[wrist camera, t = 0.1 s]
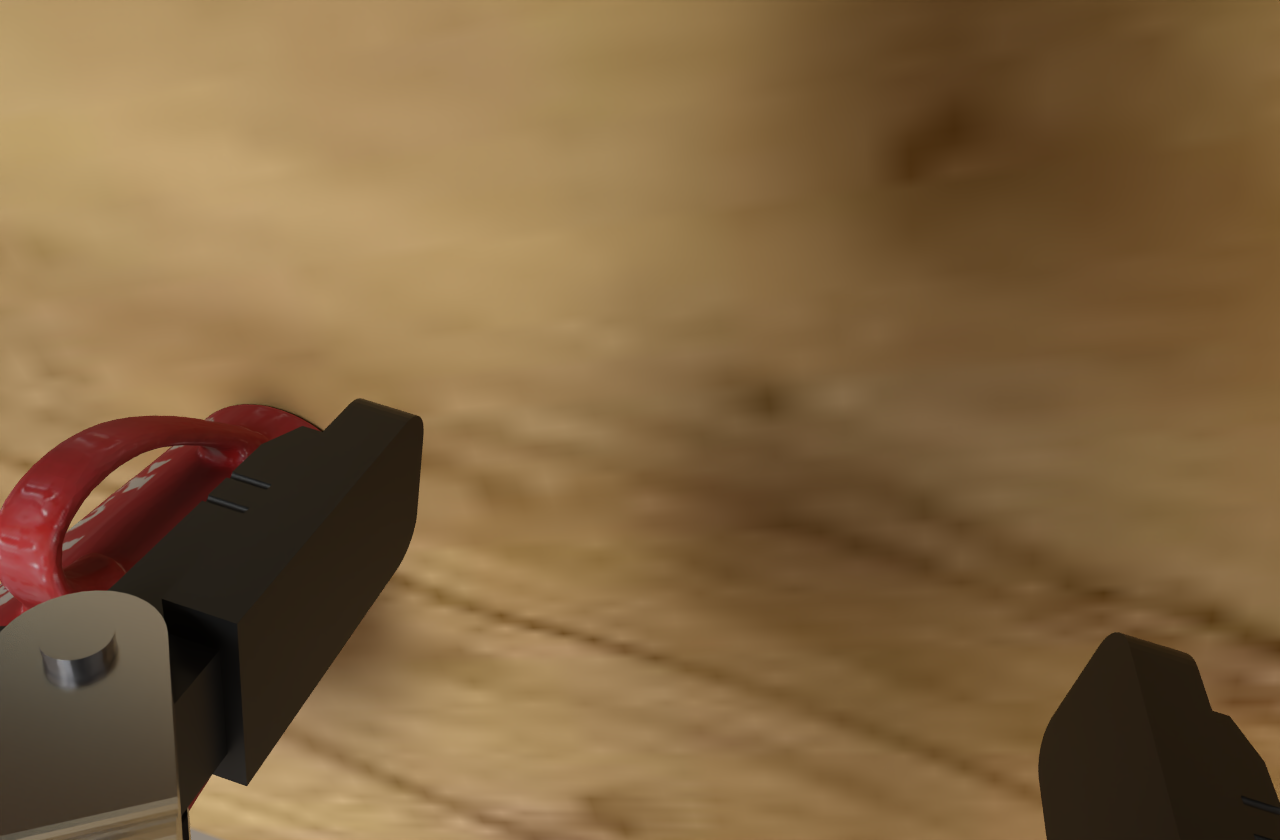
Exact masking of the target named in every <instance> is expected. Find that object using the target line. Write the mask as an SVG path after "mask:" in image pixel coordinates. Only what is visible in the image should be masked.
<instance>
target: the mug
mask: <svg viewBox="0 0 1280 840" xmlns="http://www.w3.org/2000/svg"><path fill="white" fill-rule="evenodd" d="M301 426H305V427H308V428H311V429H315V430H318V431H320V430H319V429H317V428H316V427H315V426H313V425H312V424H310V423H308V422H306V421H305V420H303V419H301V418H299V417H297V416H295V415H293V414H290V413H288V412H285V411H283V410H279V409H276V408H272V407H269V406H263V405H249V404H243V405H235V406H230V407H227V408H224V409H221V410H219V411H216V412H215V413H213V414H211V415H210V416H209V417H208V418H206V419H205V420H201V419H195V418H187V417H177V416H139V417H128V418H122V419H116V420H112V421H108V422H104V423H101V424H98V425H95V426H93V427H90V428H88V429H86V430H83V431H81V432H79V433H77V434H76V435H74V436H72V437H70V438H68V439H67V440H65V441H63V442H62V443H60V444H59V445H58V446H56V447H55V448H54V449H52V450H51V451H49V452H48V453H47V454H46V455H45V456H43V457H42V458H41V459H40V460H39V461H38V462H37V463H36V464H34V465H33V466H32V467H31V469H30V470H29V471H28V472H27V473H26V474H25V475H24V476H23V477H22V478H21V479H20V481H19V482H18V483H17V485H16V486H15V487H14V489H13V490H12V491H11V493H10V494H9V496H8V497H7V499H6V500H5V502H4V504H3V506H2V508H1V510H0V581H1V583H2V584H0V626H7V625H8V624H9V623H10V622H11V621H12V620H14V619H15V618H17V617H18V616H19V615H21V614H22V613H24V612H25V611H27V610H29V609H31V608H33V607H34V606H36V605H38V604H41V603H43V602H46V601H48V600H50V599H53V598H57V597H60V596H63V595H67V594H72V593H77V592H84V591H96V590H97V591H107V590H108V589H110V588H111V587H112V586H113V585H114V584H115V583H116V582H117V581H118V580H119V579H120V578H122V577H123V576H124V575H125V574H126V573H127V572H128V571H129V570H130V569H131V568H132V567H133V566H134V565H135V564H136V563H137V562H138V561H139V560H140V559H141V558H142V557H144V556H145V555H146V554H147V553H148V552H149V551H150V550H151V549H152V548H153V547H154V546H155V545H156V544H157V543H158V542H159V541H160V540H161V539H162V538H163V537H165V536H166V535H167V534H168V533H169V532H170V531H171V530H172V529H173V528H174V527H175V526H176V525H177V524H178V523H179V522H180V521H181V520H182V519H183V518H184V517H185V516H187V515H188V514H189V513H190V512H191V511H192V510H193V509H194V508H195V507H196V506H197V505H198V504H199V503H200V502H201V501H205V502H206V500H207V499H208V495H209V494H210V493H211V492H212V491H213V490H214V489H215V488H216V487H217V486H218V485H219V484H220V483H221V482H222V481H223V480H224V479H225V478H226V477H227V478H230V477H231V475H232V472H233V471H234V470H235V469H236V468H237V467H238V466H239V465H240V464H241V463H242V462H243V461H244V460H245V459H246V458H247V457H248V456H249V455H250V454H252V453H253V452H254V451H255V450H256V449H257V448H258V447H259V446H260V445H261V444H263V443H265V442H268V441H270V440H272V439H274V438H276V437H279V436H281V435H283V434H285V433H288V432H290V431H292V430H294V429H296V428H299V427H301ZM167 446H172V447H171V448H169V449H168V450H167V451H166V452H165V453H163V454H162V455H161V456H160V457H158V458H157V459H156V460H155V461H154V462H152V463H151V464H150V465H149V466H147V467H146V468H145V469H144V470H142V471H141V472H140V473H139V474H137V475H136V476H135V477H133V478H132V479H131V480H130V481H128V482H127V483H126V484H125V485H123V486H122V487H121V488H120V489H118V490H117V491H116V492H115V493H113V494H112V495H111V496H110V497H108V498H107V499H106V500H105V501H104V502H102V503H101V504H100V505H99V506H98V507H96V508H95V509H94V510H93V511H92V512H90V513H89V514H88V515H87V516H85V517H84V518H83V519H82V520H80V521H79V522H78V523H77V524H76V525H74V526H73V527H72V528H71V529H69V530H68V531H67V529H68V527H69V525H70V523H71V521H72V519H73V517H74V516H75V514H76V512H77V511H78V509H79V508H80V506H81V505H82V503H83V502H84V500H85V499H86V498H87V497H88V496H89V494H90V493H91V491H92V490H93V489H94V488H95V487H96V486H97V485H99V484H100V483H101V482H102V481H103V480H104V479H105V478H106V477H107V476H108V475H109V474H110V473H111V472H112V471H114V470H115V469H117V468H118V467H119V466H121V465H123V464H124V463H125V462H127V461H129V460H131V459H132V458H134V457H136V456H138V455H140V454H142V453H144V452H147V451H150V450H153V449H157V448H161V447H167ZM209 779H210V778H209ZM209 779H208V780H209ZM207 782H208V781H207ZM207 782H206V783H207ZM206 783H205V785H206ZM205 785H204V786H205ZM204 786H203V788H204ZM203 788H202V789H201V790H200V792H199V793H198V794H197V796H196V797H195V798H194V800H193V801H192V802H191V804H190V805H189V807H188V808H189V810H190V809H191V807H192V805H193V804H194V802H195V801H196V799H197V797H198V796H199V794H200V793H201V791H202V790H203Z"/></svg>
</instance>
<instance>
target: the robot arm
mask: <svg viewBox="0 0 1280 840" xmlns="http://www.w3.org/2000/svg"><path fill="white" fill-rule="evenodd" d="M423 431H424V428H423V421H422V419H421V417H419V416H417V415H414V414H410V413H407V412H404V411H401V410H397V409H394V408H391V407H387V406H384V405H381V404H378V403H374V402H371V401H368V400H365V399H360V398H359V399H356V400H354V401H353V402H352V403H350V404H349V405H348V406H347V407H346V408H345V409H344V411H343V412H342V413H341V414H340V415H339V416H338V417H337V418H336V419H335V420H334V421H333V422H332V423H331V424H330V425H329V426H328V427H327V428H326V429H325V430H324V431H323V432H321V431H318V430H315V429H311V428H308V427H305V426H301V427H299V428H296V429H294V430H292V431H290V432H288V433H285V434H283V435H281V436H279V437H276V438H274V439H272V440H270V441H268V442H265V443H263V444H261V445H260V446H259V447H258V448H257V449H256V450H255V451H254V452H253V453H252V454H250V455H249V456H248V457H247V458H246V459H245V460H244V461H243V462H242V463H241V464H240V465H239V466H238V467H237V468H236V469H235V470H234V471H233V472H232V475H231V477H230V478H227V477H226V478H225V479H224V480H223V481H222V482H221V483H220V484H219V485H218V486H217V487H216V488H215V489H214V490H213V491H212V492H211V493H210V494H209V495H208V499H207V500H206V502H205V501H201V502H200V503H199V504H198V505H197V506H196V507H195V508H194V509H193V510H192V511H191V512H190V513H189V514H188V515H187V516H185V517H184V518H183V519H182V520H181V521H180V522H179V523H178V524H177V525H176V526H175V527H174V528H173V529H172V530H171V531H170V532H169V533H168V534H167V535H166V536H165V537H163V538H162V539H161V540H160V541H159V542H158V543H157V544H156V545H155V546H154V547H153V548H152V549H151V550H150V551H149V552H148V553H147V554H146V555H145V556H144V557H142V558H141V559H140V560H139V561H138V562H137V563H136V564H135V565H134V566H133V567H132V568H131V569H130V570H129V571H128V572H127V573H126V574H125V575H124V576H123V577H122V578H120V579H119V580H118V581H117V582H116V583H115V584H114V585H113V586H112V587H111V588H110V589H108V590H107V591H97V590H96V591H84V592H77V593H72V594H67V595H63V596H60V597H57V598H53V599H50V600H48V601H46V602H43V603H41V604H38V605H36V606H34V607H33V608H31V609H29V610H27V611H25V612H24V613H22V614H21V615H19V616H18V617H17V618H15V619H14V620H12V621H11V622H10V623H9V624H8V625H7V626H0V840H191V834H190V819H189V808H188V807H189V805H190V804H191V802H192V801H193V800H194V798H195V797H196V796H197V794H198V793H199V792H200V790H201V789H202V788H203V786H204V785H205V783H206V782H207V781H208V779H209V778H210V777H211V775H212V774H213V775H216V776H219V777H222V778H225V779H228V780H231V781H233V782H236V783H239V784H242V785H245V786H247V785H248V784H249V782H250V781H251V780H252V778H253V777H254V775H255V774H256V772H257V771H258V769H259V768H260V767H261V765H262V764H263V762H264V761H265V759H266V758H267V756H268V755H269V753H270V752H271V751H272V749H273V748H274V746H275V745H276V743H277V742H278V740H279V739H280V738H281V736H282V735H283V733H284V732H285V730H286V729H287V727H288V726H289V725H290V723H291V722H292V720H293V719H294V717H295V716H296V714H297V713H298V712H299V710H300V709H301V707H302V706H303V704H304V703H305V701H306V700H307V699H308V697H309V696H310V694H311V693H312V691H313V690H314V688H315V687H316V686H317V684H318V683H319V681H320V680H321V678H322V677H323V675H324V674H325V673H326V671H327V670H328V668H329V667H330V665H331V664H332V662H333V661H334V659H335V658H336V657H337V655H338V654H339V652H340V651H341V649H342V648H343V646H344V645H345V644H346V642H347V641H348V639H349V638H350V636H351V635H352V633H353V632H354V631H355V629H356V628H357V626H358V625H359V623H360V622H361V620H362V619H363V618H364V616H365V615H366V613H367V612H368V610H369V609H370V607H371V606H372V605H373V603H374V602H375V600H376V599H377V597H378V596H379V594H380V593H381V592H382V590H383V589H384V587H385V586H386V584H387V583H388V581H389V580H390V579H391V577H392V576H393V574H394V573H395V571H396V570H397V568H398V567H399V565H400V564H401V562H402V560H403V558H404V556H405V554H406V552H407V549H408V547H409V544H410V541H411V539H412V535H413V532H414V528H415V524H416V518H417V507H418V495H419V483H420V470H421V458H422V446H423ZM1038 773H1039V783H1040V791H1041V798H1042V806H1043V813H1044V821H1045V829H1046V836H1047V840H1280V802H1279V800H1278V797H1277V794H1276V792H1275V789H1274V786H1273V783H1272V781H1271V778H1270V775H1269V773H1268V770H1267V767H1266V765H1265V762H1264V761H1263V759H1262V758H1261V757H1260V756H1259V754H1258V753H1257V752H1256V750H1255V749H1254V748H1253V746H1252V745H1251V744H1250V742H1249V741H1248V740H1247V738H1246V737H1245V736H1244V734H1243V733H1242V732H1241V730H1240V729H1239V728H1238V726H1237V725H1236V724H1235V723H1234V721H1233V720H1232V719H1231V717H1230V716H1227V715H1224V714H1221V713H1218V712H1214V711H1212V709H1211V706H1210V703H1209V700H1208V697H1207V694H1206V691H1205V688H1204V685H1203V682H1202V679H1201V676H1200V673H1199V670H1198V667H1197V665H1196V662H1195V661H1194V659H1193V658H1192V657H1191V656H1190V655H1189V654H1187V653H1184V652H1181V651H1178V650H1174V649H1171V648H1168V647H1165V646H1161V645H1158V644H1155V643H1152V642H1148V641H1145V640H1142V639H1138V638H1135V637H1132V636H1129V635H1125V634H1122V633H1119V632H1115V633H1112V634H1110V635H1109V636H1107V637H1106V638H1105V639H1104V640H1103V642H1102V643H1101V644H1100V646H1099V647H1098V649H1097V650H1096V652H1095V653H1094V655H1093V656H1092V658H1091V659H1090V661H1089V662H1088V664H1087V665H1086V667H1085V668H1084V670H1083V671H1082V673H1081V674H1080V676H1079V677H1078V679H1077V680H1076V682H1075V683H1074V685H1073V686H1072V688H1071V689H1070V691H1069V692H1068V694H1067V695H1066V697H1065V698H1064V700H1063V701H1062V703H1061V705H1060V706H1059V708H1058V709H1057V711H1056V712H1055V714H1054V715H1053V717H1052V718H1051V720H1050V722H1049V724H1048V726H1047V728H1046V731H1045V733H1044V737H1043V740H1042V744H1041V748H1040V754H1039V764H1038Z"/></svg>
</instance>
